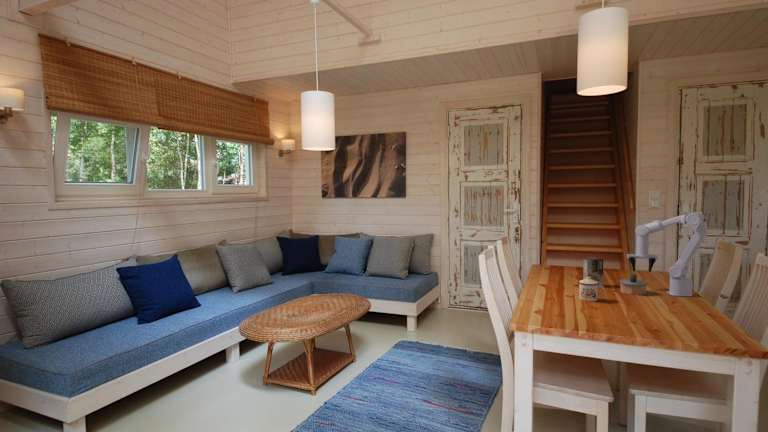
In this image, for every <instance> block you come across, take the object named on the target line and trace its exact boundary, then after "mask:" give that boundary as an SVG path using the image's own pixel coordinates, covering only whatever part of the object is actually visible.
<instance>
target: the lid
mask: <svg viewBox="0 0 768 432" xmlns="http://www.w3.org/2000/svg"><path fill="white" fill-rule="evenodd" d="M629 277H630V278H628V279H623V278H622V279H619V284H620V285H621V284H625V285H630V286H646V287H647V286H648V282H647V281H645V280H639V279H638V275H637V274H636V273H631V274H630V276H629Z"/></svg>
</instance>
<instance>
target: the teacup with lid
mask: <svg viewBox="0 0 768 432" xmlns="http://www.w3.org/2000/svg"><path fill="white" fill-rule="evenodd" d="M598 284H599V283H598V282H597V281H594V280H593V279H591V277H587V278H586V279H583V278H582V279H581V280H579V281H578V285H579V287H578V298H579V300H581V301H585V302H597V301H598V300H599V297H601V296H604V294H605V292H606V289H605V287H604V286H603V287H602V286H598ZM600 288H601V289H603V291H602V292H601V293H599V289H600Z"/></svg>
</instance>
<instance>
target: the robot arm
mask: <svg viewBox="0 0 768 432" xmlns="http://www.w3.org/2000/svg"><path fill="white" fill-rule="evenodd" d="M680 223H681V224H688V226H690V227H691V228H692V231H693V235H692V237H691V238H690V240H689V242H688V243H687V245H686V246H685V247H684V248H685V249H684V250H683V252H682V253H681V255H680V256H679V258H678V260H677V261H676V262H675V263H674V264H673V266H671V267H669V269H668V275H669V290H667V291H665V293H667V294H668V295H670V296H672V297H673V296H674V297H693V281H692V278H690V277H687V276H686V275H687V274H688V271H689V267H690V263H691V262H692V260H693V258H694V257H695V254H696V253H697V251H698V250H699V248H700V247H701V245H702V243H703V241H704V240H705V238H706V237H707V235H708V232H709V231H708V224H707V223H708V220H707V218H706V216H705V214H704V213H702V212H699V211H698V212H691V213H687V214H686V213H685V214H680V215H677V216H675V217H671V218H669V219H666V220H663V221H662V220H659V219H655V220H653V221H652V222H649V223H647V222H646V223H644V224H643V225H642V224H641V225H638V226H637V227H636V228H635V230H634V231H635V232H634V233H635V234H636V248H635V251H636V252H635V254H634V253H633V254H632V253H627V254H626V258H627V259H628V260H629V262H630V264H631V267H632V271H633V272H636V262H637V261H636V259H645V260H646V259H648V272H649V273H651V272H652V268H653V266H654V264H655V263H656V261H657V260H658V258H659V256H658V254H649V247H650V246H649V241H650V240H649V237H650V236H649V235H652V234H655V233H658V232H662V231H664V229H665V228H666V227H669V226H674V225H677V224H680Z"/></svg>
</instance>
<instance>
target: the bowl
mask: <svg viewBox="0 0 768 432" xmlns="http://www.w3.org/2000/svg"><path fill="white" fill-rule="evenodd" d="M619 290H620V292H621V293H623V294H627V295H631V296H634V295H635V296H643V295H646V294H647V293H646V292H647V285H646V286H630V285H625V284H621V283H620V289H619Z"/></svg>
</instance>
